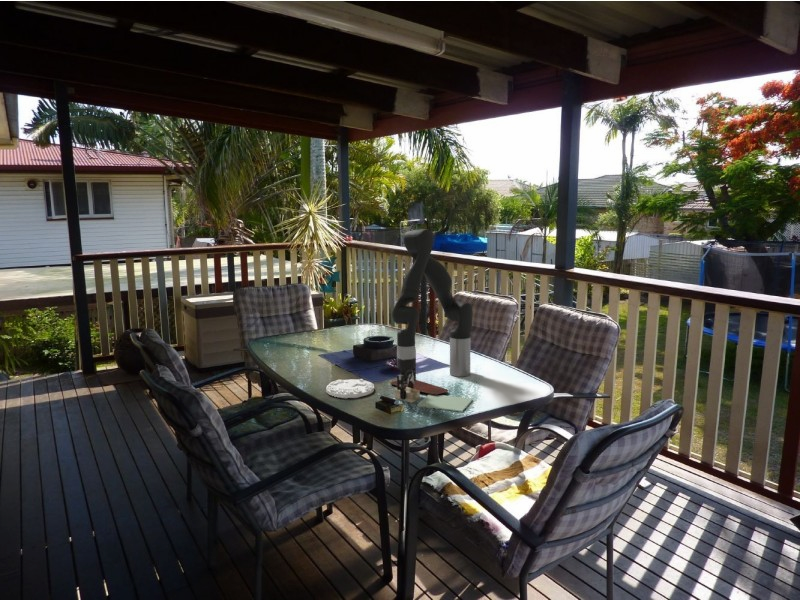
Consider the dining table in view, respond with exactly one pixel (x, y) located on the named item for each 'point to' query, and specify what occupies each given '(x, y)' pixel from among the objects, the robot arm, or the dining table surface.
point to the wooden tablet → (425, 387)
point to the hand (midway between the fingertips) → (407, 395)
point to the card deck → (408, 394)
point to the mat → (445, 402)
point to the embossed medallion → (350, 388)
